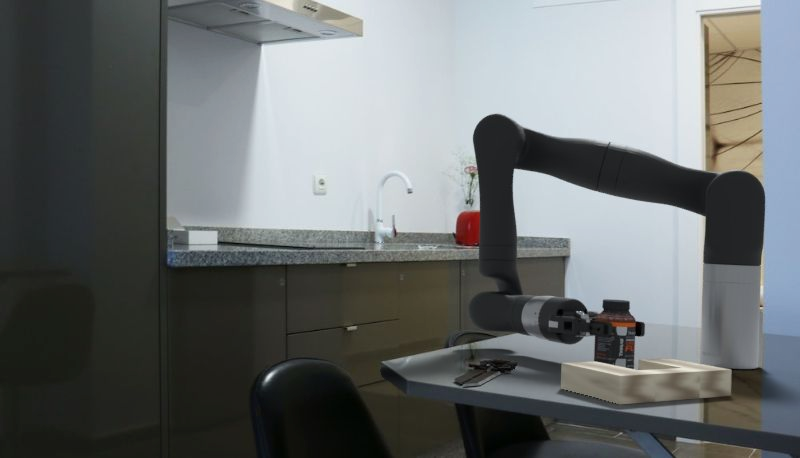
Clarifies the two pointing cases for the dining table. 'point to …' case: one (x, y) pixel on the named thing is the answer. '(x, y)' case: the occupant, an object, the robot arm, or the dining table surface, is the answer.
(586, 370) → the slot dock
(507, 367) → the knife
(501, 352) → the dining table surface
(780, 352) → the dining table surface
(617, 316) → the supplement bottle
